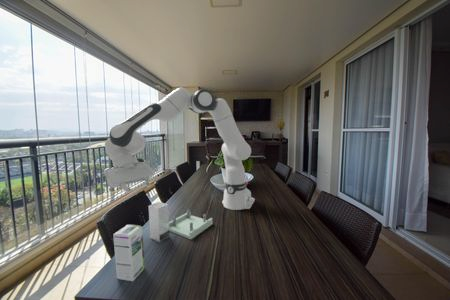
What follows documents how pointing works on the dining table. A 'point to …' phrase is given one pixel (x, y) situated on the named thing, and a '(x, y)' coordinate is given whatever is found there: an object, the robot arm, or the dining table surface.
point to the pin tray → (189, 225)
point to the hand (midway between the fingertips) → (139, 189)
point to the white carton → (159, 221)
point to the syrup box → (129, 252)
